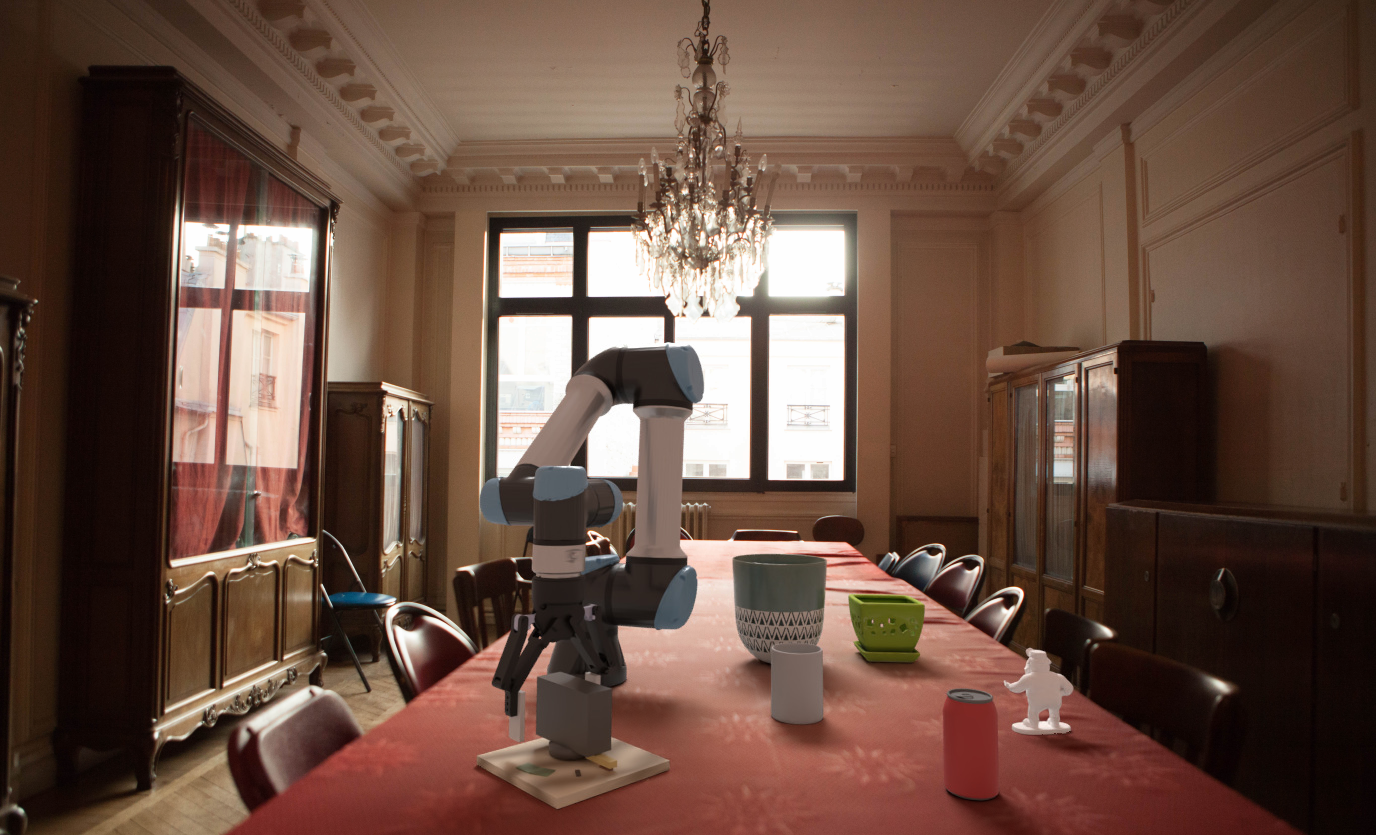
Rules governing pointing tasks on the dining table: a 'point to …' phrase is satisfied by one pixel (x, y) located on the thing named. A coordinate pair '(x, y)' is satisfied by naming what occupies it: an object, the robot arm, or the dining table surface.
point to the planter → (778, 600)
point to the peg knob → (575, 718)
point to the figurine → (1041, 695)
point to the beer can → (970, 744)
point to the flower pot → (887, 626)
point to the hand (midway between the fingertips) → (555, 729)
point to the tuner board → (569, 770)
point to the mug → (797, 683)
